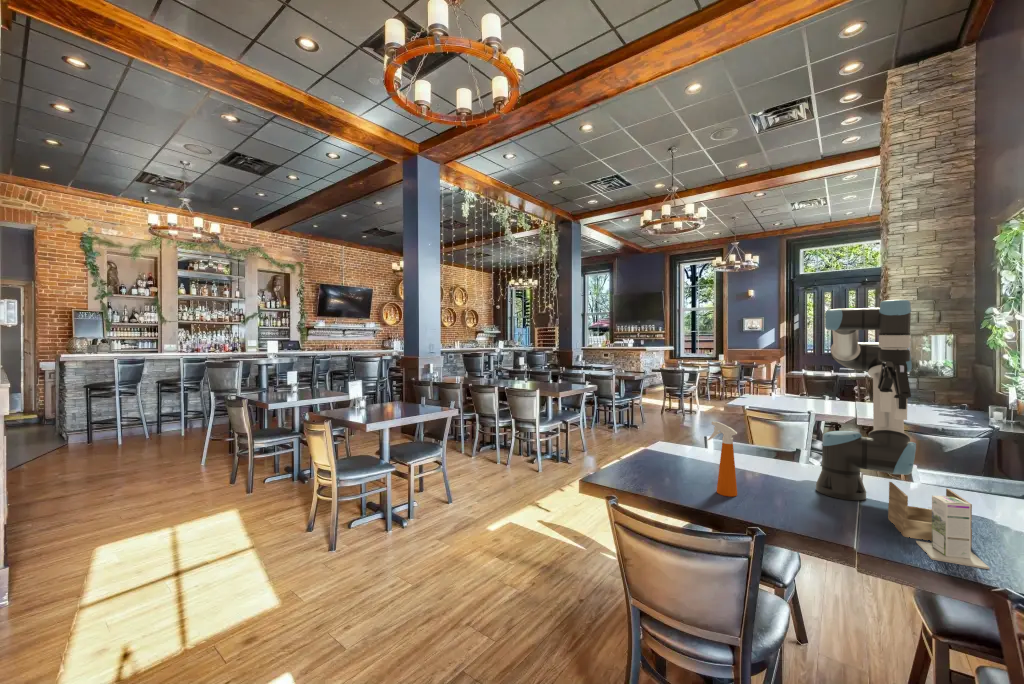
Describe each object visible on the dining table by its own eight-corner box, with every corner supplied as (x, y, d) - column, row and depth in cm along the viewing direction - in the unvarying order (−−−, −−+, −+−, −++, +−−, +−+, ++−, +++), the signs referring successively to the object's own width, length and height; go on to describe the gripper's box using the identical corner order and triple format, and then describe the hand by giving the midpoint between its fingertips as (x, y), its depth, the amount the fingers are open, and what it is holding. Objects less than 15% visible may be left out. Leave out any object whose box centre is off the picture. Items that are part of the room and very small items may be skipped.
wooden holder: (904, 536, 130) (904, 495, 130) (888, 518, 143) (888, 481, 143) (971, 547, 123) (972, 504, 123) (948, 527, 136) (949, 488, 136)
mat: (931, 559, 116) (931, 557, 116) (916, 542, 126) (916, 540, 126) (989, 569, 111) (989, 567, 111) (968, 550, 121) (968, 549, 121)
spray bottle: (709, 486, 172) (710, 419, 172) (739, 493, 165) (740, 422, 165) (703, 491, 167) (704, 421, 166) (734, 498, 160) (735, 425, 160)
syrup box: (972, 559, 115) (973, 504, 115) (944, 556, 117) (945, 501, 117) (955, 549, 121) (956, 496, 121) (930, 546, 122) (930, 494, 122)
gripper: (926, 350, 127) (924, 424, 128) (894, 347, 150) (893, 409, 151) (893, 350, 130) (891, 422, 131) (867, 347, 153) (866, 408, 154)
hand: (892, 415), depth 141 cm, fingers open, 13 cm apart
